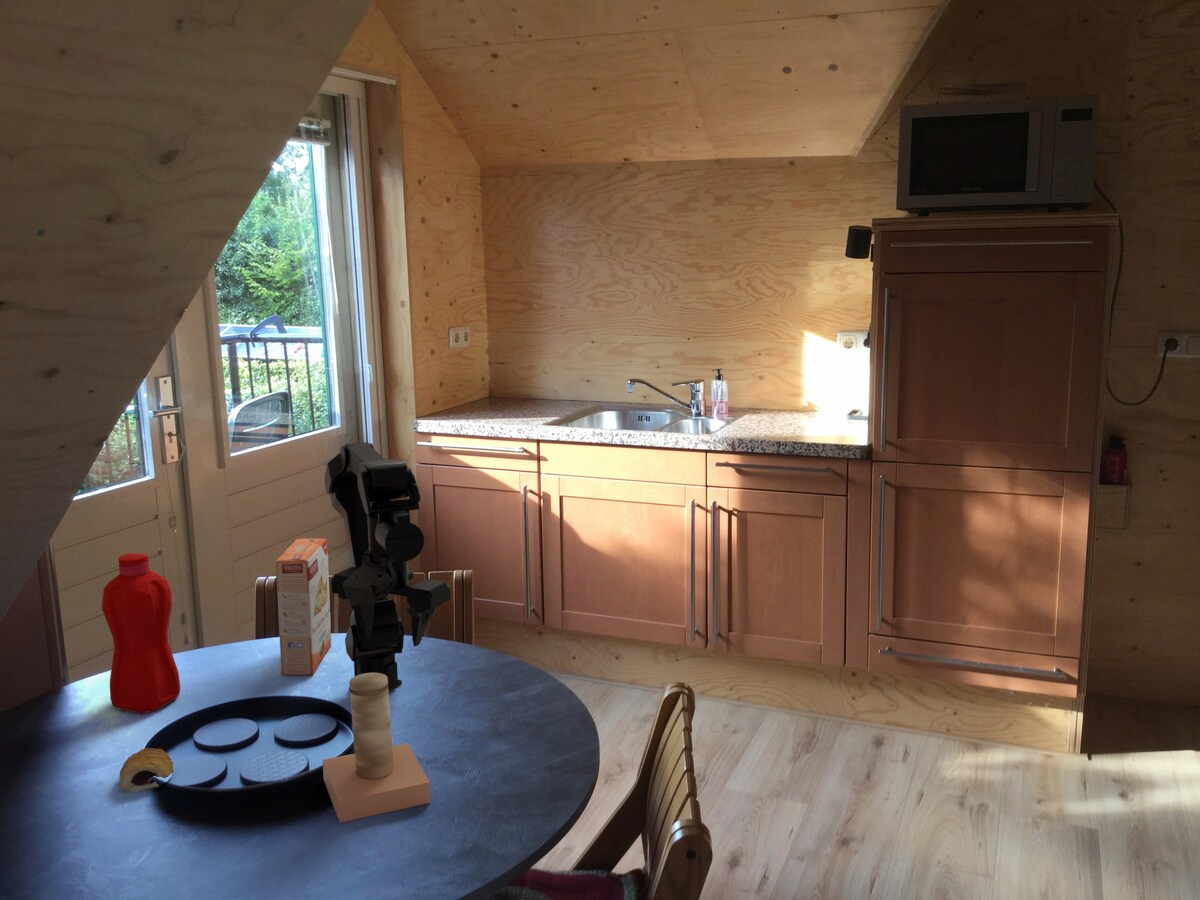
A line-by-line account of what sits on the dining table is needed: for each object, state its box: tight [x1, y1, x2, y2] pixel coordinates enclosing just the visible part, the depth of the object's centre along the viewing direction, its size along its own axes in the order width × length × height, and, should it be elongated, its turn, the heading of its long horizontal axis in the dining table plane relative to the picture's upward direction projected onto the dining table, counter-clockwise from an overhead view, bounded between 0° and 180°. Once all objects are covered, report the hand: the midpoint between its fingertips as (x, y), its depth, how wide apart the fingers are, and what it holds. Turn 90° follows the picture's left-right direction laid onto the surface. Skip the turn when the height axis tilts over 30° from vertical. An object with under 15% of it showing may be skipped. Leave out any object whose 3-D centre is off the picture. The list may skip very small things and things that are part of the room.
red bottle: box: [101, 552, 181, 714], centre depth 168 cm, size 9×11×25 cm
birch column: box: [348, 673, 394, 779], centre depth 140 cm, size 5×5×13 cm
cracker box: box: [275, 537, 332, 676], centre depth 184 cm, size 14×6×21 cm, turn 1°
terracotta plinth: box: [322, 742, 431, 824], centre depth 142 cm, size 12×12×3 cm
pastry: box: [118, 747, 174, 793], centre depth 146 cm, size 9×7×4 cm
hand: (392, 640), depth 161 cm, fingers open, 9 cm apart
